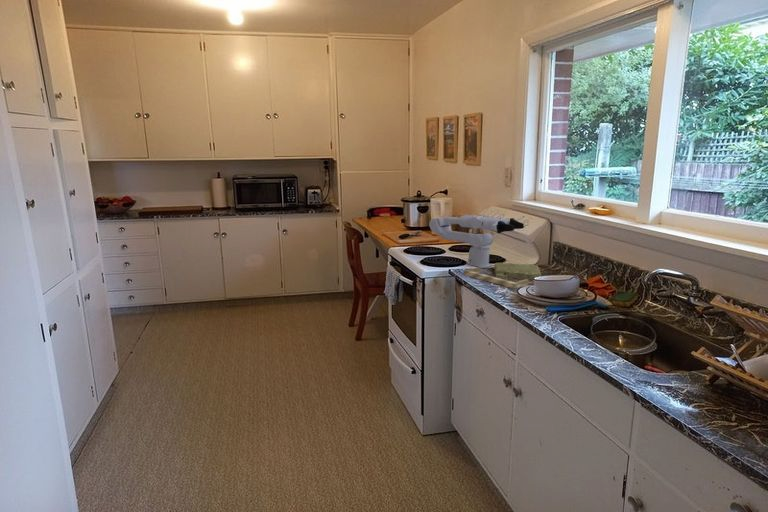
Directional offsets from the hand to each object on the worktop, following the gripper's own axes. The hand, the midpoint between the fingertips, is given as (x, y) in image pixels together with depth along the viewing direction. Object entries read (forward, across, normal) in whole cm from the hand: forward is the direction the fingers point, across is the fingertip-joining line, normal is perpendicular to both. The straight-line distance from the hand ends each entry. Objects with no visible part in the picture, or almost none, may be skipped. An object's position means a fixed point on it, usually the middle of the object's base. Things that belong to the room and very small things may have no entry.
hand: (518, 227), depth 212 cm
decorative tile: (0, 0, +22) cm, 22 cm away
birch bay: (0, -15, +21) cm, 26 cm away
